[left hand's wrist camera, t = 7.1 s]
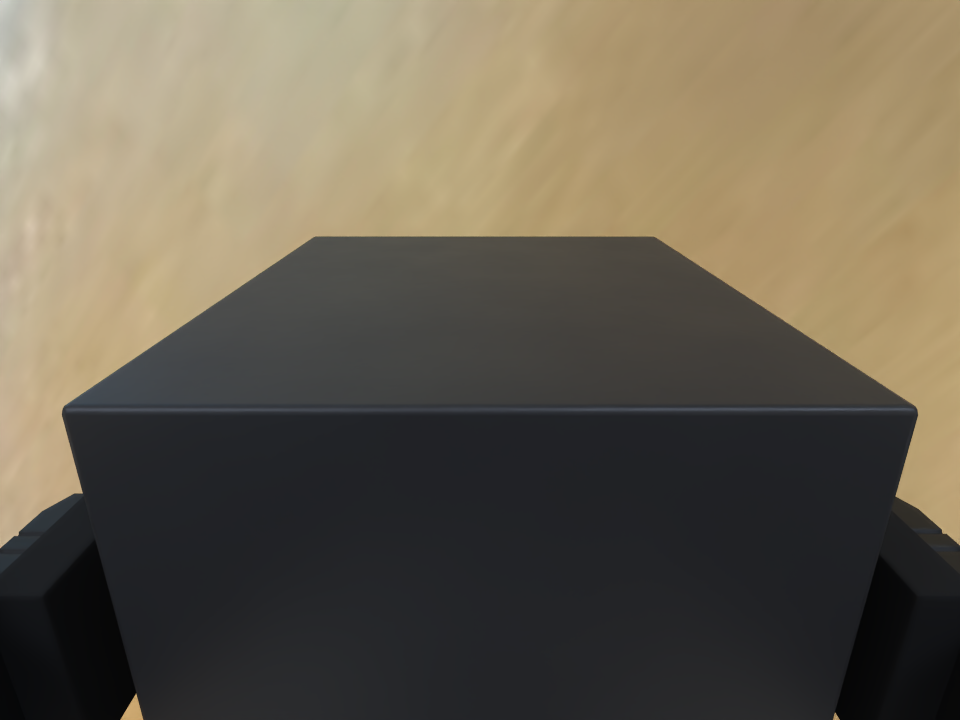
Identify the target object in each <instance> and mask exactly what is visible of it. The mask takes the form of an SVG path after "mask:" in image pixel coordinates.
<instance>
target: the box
mask: <svg viewBox="0 0 960 720" xmlns="http://www.w3.org/2000/svg"><path fill="white" fill-rule="evenodd" d="M62 417H63V420H64V424H65V428H66V432H67V435H68V439H69V443H70V447H71V450H72V454H73V458H74V462H75V465H76V469H77V473H78V477H79V480H80V484H81V488H82V491H83V495H84V499H85V503H86V506H87V510H88V514H89V518H90V521H91V525H92V529H93V533H94V536H95V540H96V544H97V548H98V551H99V555H100V559H101V563H102V566H103V570H104V574H105V578H106V581H107V585H108V589H109V592H110V596H111V600H112V604H113V607H114V611H115V615H116V619H117V622H118V626H119V630H120V634H121V637H122V641H123V645H124V649H125V652H126V656H127V660H128V664H129V667H130V671H131V675H132V679H133V682H134V686H135V690H136V694H137V697H138V701H139V705H140V708H141V712H142V716H143V720H833V717H834V713H835V710H836V706H837V703H838V699H839V696H840V692H841V688H842V685H843V681H844V678H845V674H846V671H847V667H848V663H849V660H850V656H851V653H852V649H853V646H854V642H855V638H856V635H857V631H858V628H859V624H860V621H861V617H862V613H863V610H864V606H865V603H866V599H867V596H868V592H869V588H870V585H871V581H872V578H873V574H874V571H875V567H876V563H877V560H878V556H879V553H880V549H881V546H882V542H883V538H884V535H885V531H886V528H887V524H888V520H889V517H890V513H891V510H892V506H893V503H894V499H895V495H896V492H897V488H898V485H899V481H900V478H901V474H902V470H903V467H904V463H905V460H906V456H907V453H908V449H909V445H910V442H911V438H912V435H913V431H914V428H915V424H916V420H917V417H918V412H917V408H916V407H915V406H914V405H912V404H911V403H909V402H908V401H906V400H905V399H903V398H902V397H900V396H899V395H897V394H895V393H894V392H892V391H891V390H889V389H888V388H886V387H885V386H883V385H882V384H880V383H879V382H877V381H875V380H874V379H872V378H871V377H869V376H868V375H866V374H865V373H863V372H862V371H860V370H859V369H857V368H855V367H854V366H852V365H851V364H849V363H848V362H846V361H845V360H843V359H842V358H840V357H839V356H837V355H835V354H834V353H832V352H831V351H829V350H828V349H826V348H825V347H823V346H822V345H820V344H819V343H817V342H815V341H814V340H812V339H811V338H809V337H808V336H806V335H805V334H803V333H802V332H800V331H799V330H797V329H795V328H794V327H792V326H791V325H789V324H788V323H786V322H785V321H783V320H782V319H780V318H779V317H777V316H775V315H774V314H772V313H771V312H769V311H768V310H766V309H765V308H763V307H762V306H760V305H759V304H757V303H755V302H754V301H752V300H751V299H749V298H748V297H746V296H745V295H743V294H742V293H740V292H739V291H737V290H735V289H734V288H732V287H731V286H729V285H728V284H726V283H725V282H723V281H722V280H720V279H719V278H717V277H715V276H714V275H712V274H711V273H709V272H708V271H706V270H705V269H703V268H702V267H700V266H699V265H697V264H696V263H694V262H692V261H691V260H689V259H688V258H686V257H685V256H683V255H682V254H680V253H679V252H677V251H676V250H674V249H672V248H671V247H669V246H668V245H666V244H665V243H663V242H662V241H660V240H659V239H657V238H655V237H314V238H312V239H311V240H309V241H308V242H306V243H305V244H303V245H302V246H300V247H299V248H297V249H296V250H294V251H293V252H291V253H290V254H288V255H287V256H285V257H284V258H282V259H281V260H280V261H278V262H277V263H275V264H274V265H272V266H271V267H269V268H268V269H266V270H265V271H263V272H262V273H260V274H259V275H257V276H256V277H254V278H253V279H251V280H250V281H248V282H247V283H245V284H244V285H243V286H241V287H240V288H238V289H237V290H235V291H234V292H232V293H231V294H229V295H228V296H226V297H225V298H223V299H222V300H220V301H219V302H217V303H216V304H214V305H213V306H211V307H210V308H209V309H207V310H206V311H204V312H203V313H201V314H200V315H198V316H197V317H195V318H194V319H192V320H191V321H189V322H188V323H186V324H185V325H183V326H182V327H180V328H179V329H177V330H176V331H174V332H173V333H172V334H170V335H169V336H167V337H166V338H164V339H163V340H161V341H160V342H158V343H157V344H155V345H154V346H152V347H151V348H149V349H148V350H146V351H145V352H143V353H142V354H140V355H139V356H138V357H136V358H135V359H133V360H132V361H130V362H129V363H127V364H126V365H124V366H123V367H121V368H120V369H118V370H117V371H115V372H114V373H112V374H111V375H109V376H108V377H106V378H105V379H104V380H102V381H101V382H99V383H98V384H96V385H95V386H93V387H92V388H90V389H89V390H87V391H86V392H84V393H83V394H81V395H80V396H78V397H77V398H75V399H74V400H72V401H71V402H69V403H68V404H67V405H65V406H64V408H63V411H62Z"/></svg>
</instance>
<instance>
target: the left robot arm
mask: <svg viewBox="0 0 960 720" xmlns="http://www.w3.org/2000/svg"><path fill="white" fill-rule="evenodd" d="M135 694H136V690H135V686H134V682H133V679H132V675H131V671H130V667H129V664H128V660H127V656H126V652H125V649H124V645H123V641H122V637H121V634H120V630H119V626H118V622H117V619H116V615H115V611H114V607H113V604H112V600H111V596H110V592H109V589H108V585H107V581H106V578H105V574H104V570H103V566H102V563H101V559H100V555H99V551H98V548H97V544H96V540H95V536H94V533H93V529H92V525H91V521H90V518H89V514H88V510H87V506H86V503H85V499H84V495H83V494H73V495H71V496H69V497H67V498H66V499H64V500H62V501H60V502H58V503H57V504H55V505H53V506H51V507H49V508H47V509H46V510H44V511H42V512H41V513H40V514H39V515H38V516H37V517H35V518H34V519H33V520H32V521H31V522H30V523H29V524H27V525H26V526H25V527H24V528H23V529H22V530H21V531H20V532H19V536H14V537H13V538H12V539H11V540H9V541H8V542H7V543H6V544H5V545H4V546H3V547H1V548H0V720H120V719H121V717H122V716H123V714H124V712H125V711H126V709H127V708H128V706H129V704H130V703H131V701H132V699H133V698H134V696H135ZM835 712H836V714H837V716H838V717H839V719H840V720H960V545H958V544H957V543H956V542H955V541H954V540H953V539H952V538H951V537H949V536H948V535H947V534H942V530H941V529H940V528H939V527H938V526H937V525H936V524H935V523H933V522H932V521H931V520H930V519H929V518H928V517H927V516H925V515H924V514H923V513H922V512H921V511H920V510H919V509H917V508H915V507H913V506H912V505H910V504H908V503H906V502H904V501H902V500H901V499H899V498H897V497H895V499H894V503H893V506H892V510H891V513H890V517H889V520H888V524H887V528H886V531H885V535H884V538H883V542H882V546H881V549H880V553H879V556H878V560H877V563H876V567H875V571H874V574H873V578H872V581H871V585H870V588H869V592H868V596H867V599H866V603H865V606H864V610H863V613H862V617H861V621H860V624H859V628H858V631H857V635H856V638H855V642H854V646H853V649H852V653H851V656H850V660H849V663H848V667H847V671H846V674H845V678H844V681H843V685H842V688H841V692H840V696H839V699H838V703H837V706H836V710H835Z"/></svg>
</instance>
